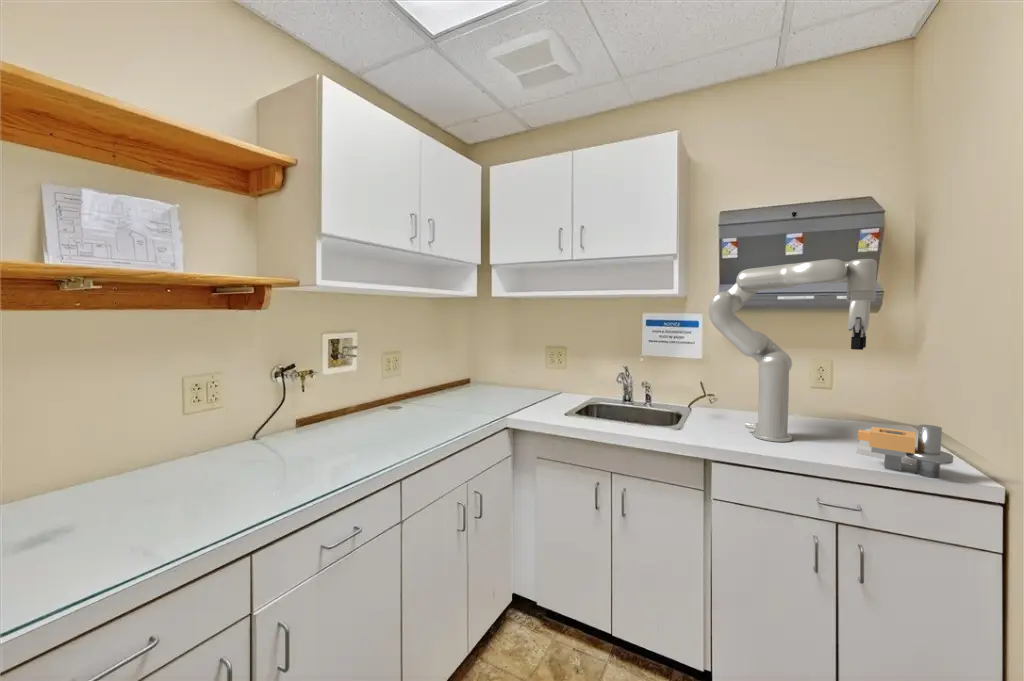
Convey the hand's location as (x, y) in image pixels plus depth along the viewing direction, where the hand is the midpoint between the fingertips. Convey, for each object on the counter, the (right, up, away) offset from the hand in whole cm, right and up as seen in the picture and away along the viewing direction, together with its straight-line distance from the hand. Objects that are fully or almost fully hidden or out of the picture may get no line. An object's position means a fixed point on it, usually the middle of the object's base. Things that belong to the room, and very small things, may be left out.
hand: (858, 348), depth 149 cm
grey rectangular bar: (-2, -36, -16) cm, 39 cm away
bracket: (-4, -29, -15) cm, 33 cm away
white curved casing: (+6, -35, -6) cm, 36 cm away
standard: (0, -36, -19) cm, 40 cm away
